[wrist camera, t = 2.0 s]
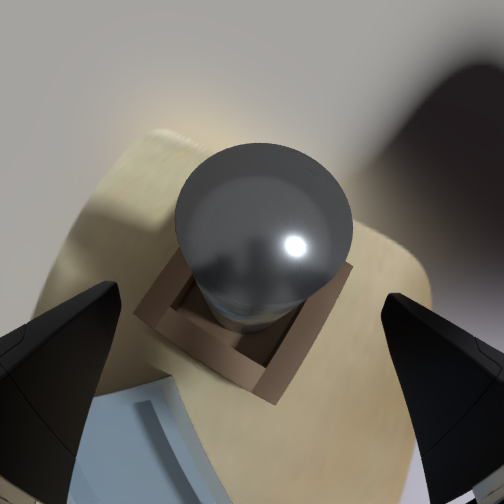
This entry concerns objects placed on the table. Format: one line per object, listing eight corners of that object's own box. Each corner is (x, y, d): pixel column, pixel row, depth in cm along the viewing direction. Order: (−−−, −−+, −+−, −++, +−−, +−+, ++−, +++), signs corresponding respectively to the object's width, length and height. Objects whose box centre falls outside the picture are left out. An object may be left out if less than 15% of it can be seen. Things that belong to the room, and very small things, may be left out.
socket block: (336, 278, 19) (353, 266, 16) (268, 397, 16) (275, 405, 13) (224, 211, 20) (223, 189, 17) (147, 319, 17) (133, 313, 14)
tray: (253, 537, 12) (258, 563, 9) (133, 552, 10) (122, 574, 7) (172, 375, 16) (158, 381, 13) (52, 404, 14) (24, 410, 11)
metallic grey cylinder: (292, 318, 17) (380, 264, 7) (223, 344, 16) (209, 333, 6) (265, 253, 18) (306, 130, 8) (198, 276, 17) (157, 168, 7)
